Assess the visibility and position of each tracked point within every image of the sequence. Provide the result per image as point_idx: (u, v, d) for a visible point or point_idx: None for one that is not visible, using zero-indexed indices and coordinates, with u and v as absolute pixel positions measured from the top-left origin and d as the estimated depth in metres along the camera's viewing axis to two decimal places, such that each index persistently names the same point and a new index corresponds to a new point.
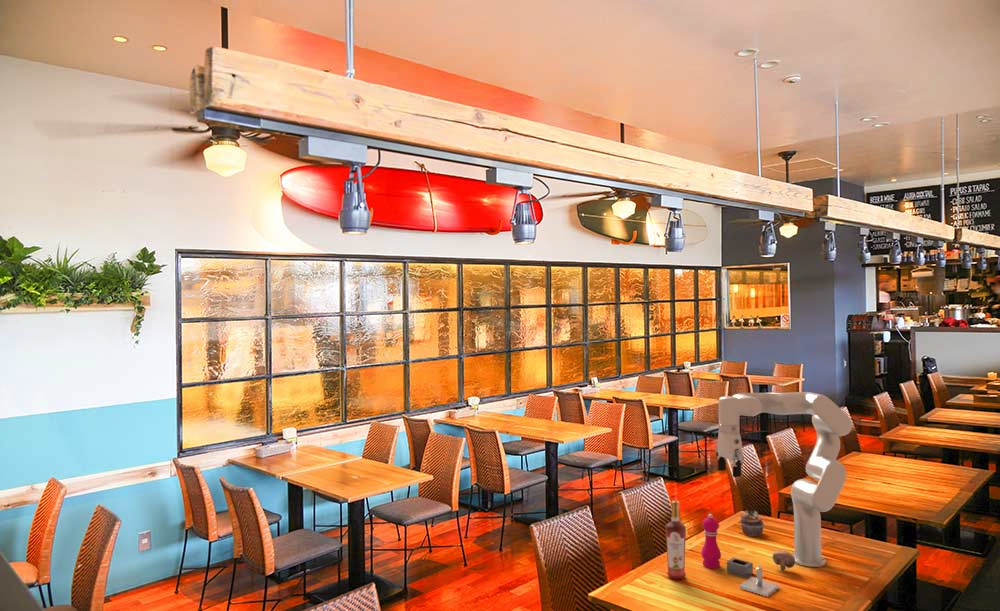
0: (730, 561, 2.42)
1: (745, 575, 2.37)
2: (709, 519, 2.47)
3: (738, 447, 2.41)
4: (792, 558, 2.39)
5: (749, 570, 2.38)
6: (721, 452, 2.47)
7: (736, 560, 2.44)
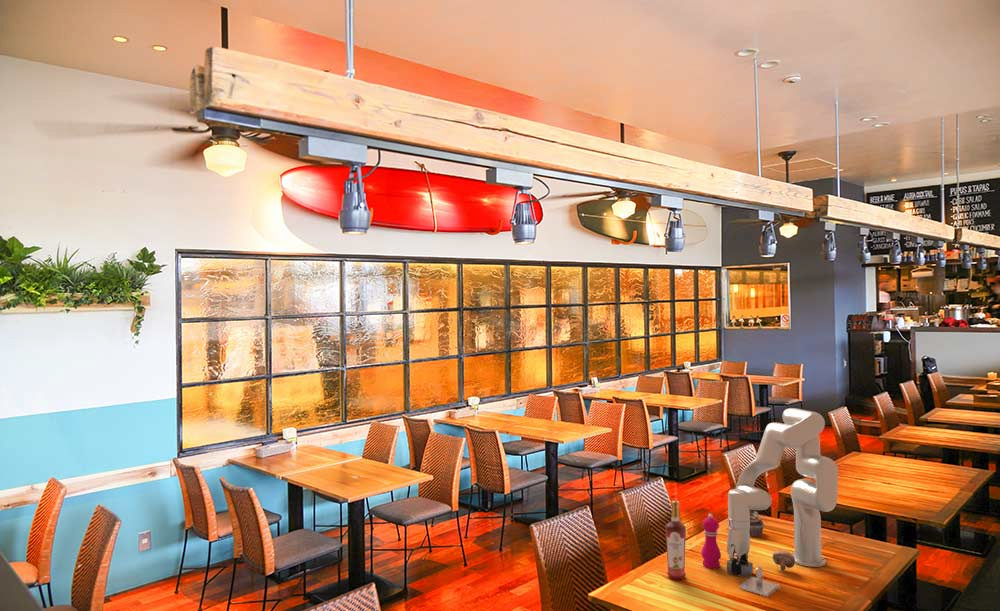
0: (730, 561, 2.42)
1: (745, 575, 2.37)
2: (709, 519, 2.47)
3: None
4: (792, 558, 2.39)
5: (749, 570, 2.38)
6: (743, 550, 2.38)
7: None
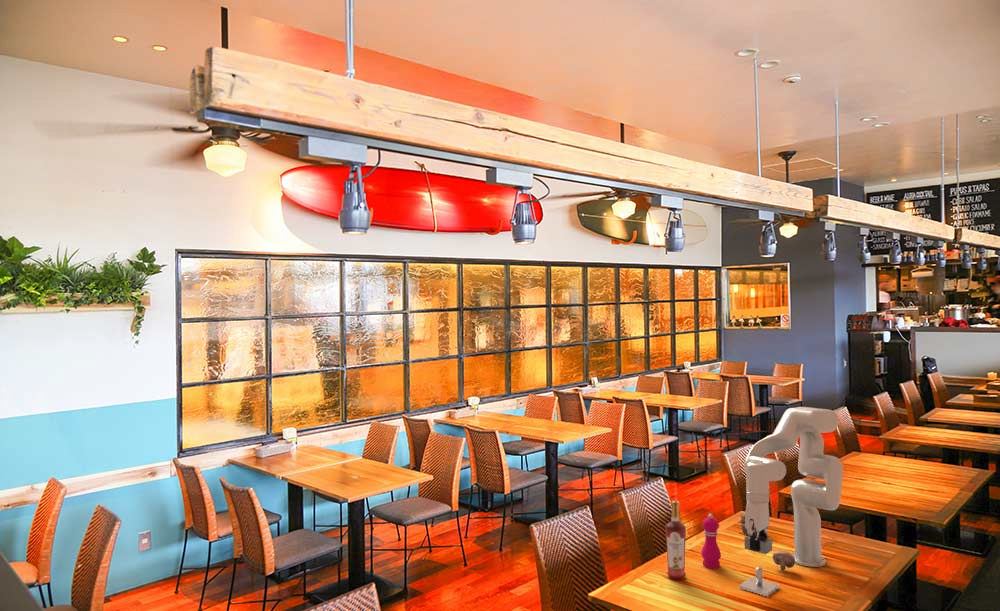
0: (748, 537, 2.29)
1: (764, 551, 2.23)
2: (709, 519, 2.47)
3: None
4: (792, 558, 2.39)
5: (768, 546, 2.25)
6: (762, 525, 2.25)
7: None
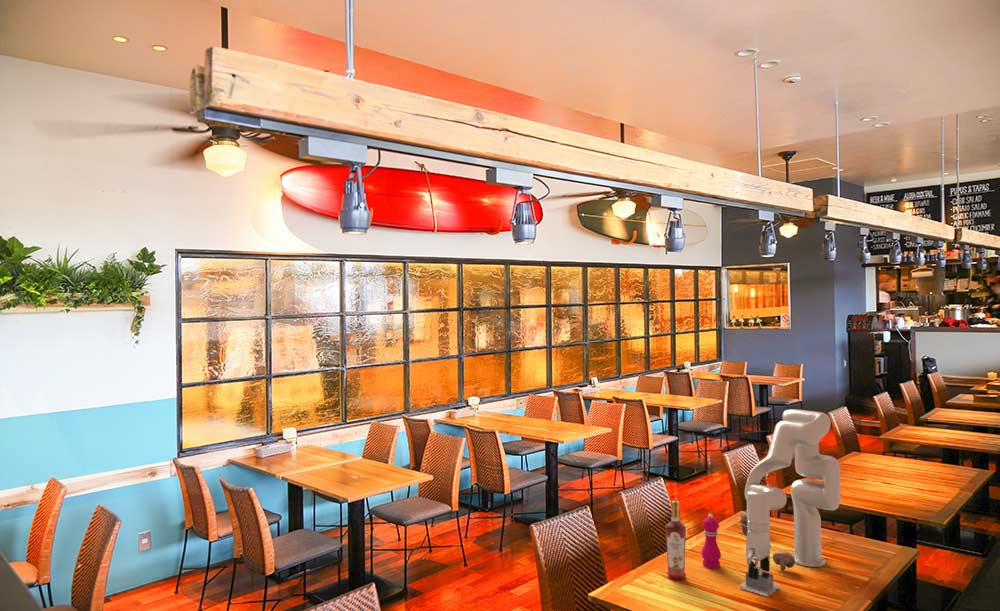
0: None
1: (765, 587, 2.23)
2: (709, 519, 2.47)
3: None
4: (792, 558, 2.39)
5: (770, 582, 2.25)
6: (763, 554, 2.25)
7: None
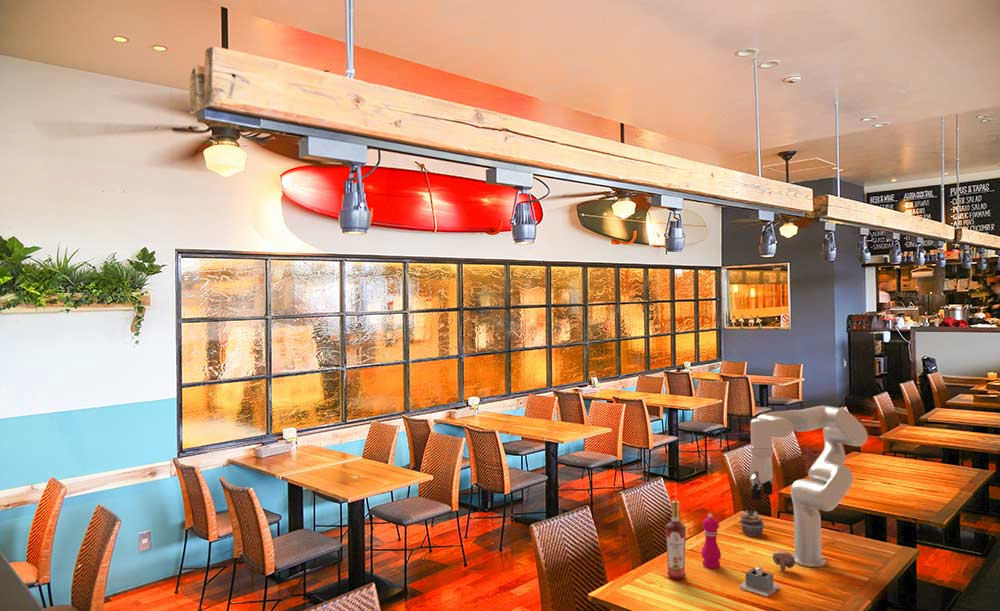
0: (749, 572, 2.28)
1: (765, 587, 2.23)
2: (709, 519, 2.47)
3: None
4: (792, 558, 2.39)
5: (770, 582, 2.25)
6: (766, 478, 2.39)
7: (755, 571, 2.30)
